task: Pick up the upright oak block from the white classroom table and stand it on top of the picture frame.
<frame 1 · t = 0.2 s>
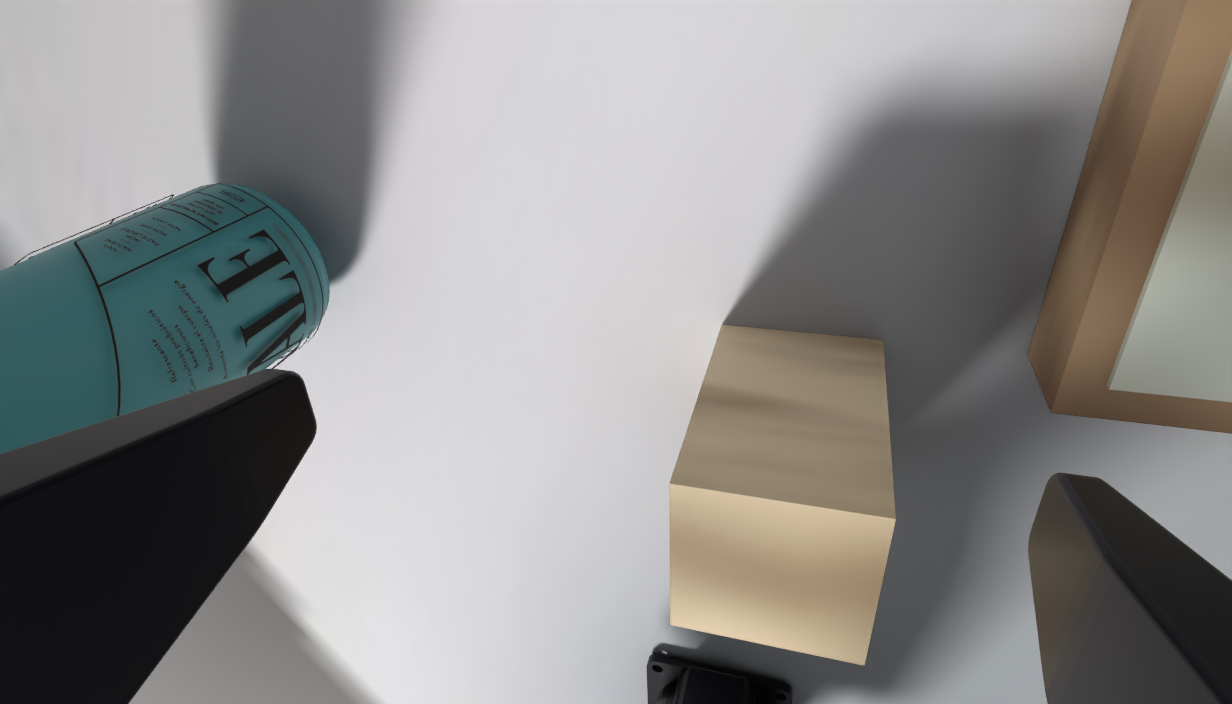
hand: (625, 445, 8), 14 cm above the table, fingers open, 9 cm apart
beverage bottle: (289, 246, 27), on the table
oak block: (793, 396, 24), on the table
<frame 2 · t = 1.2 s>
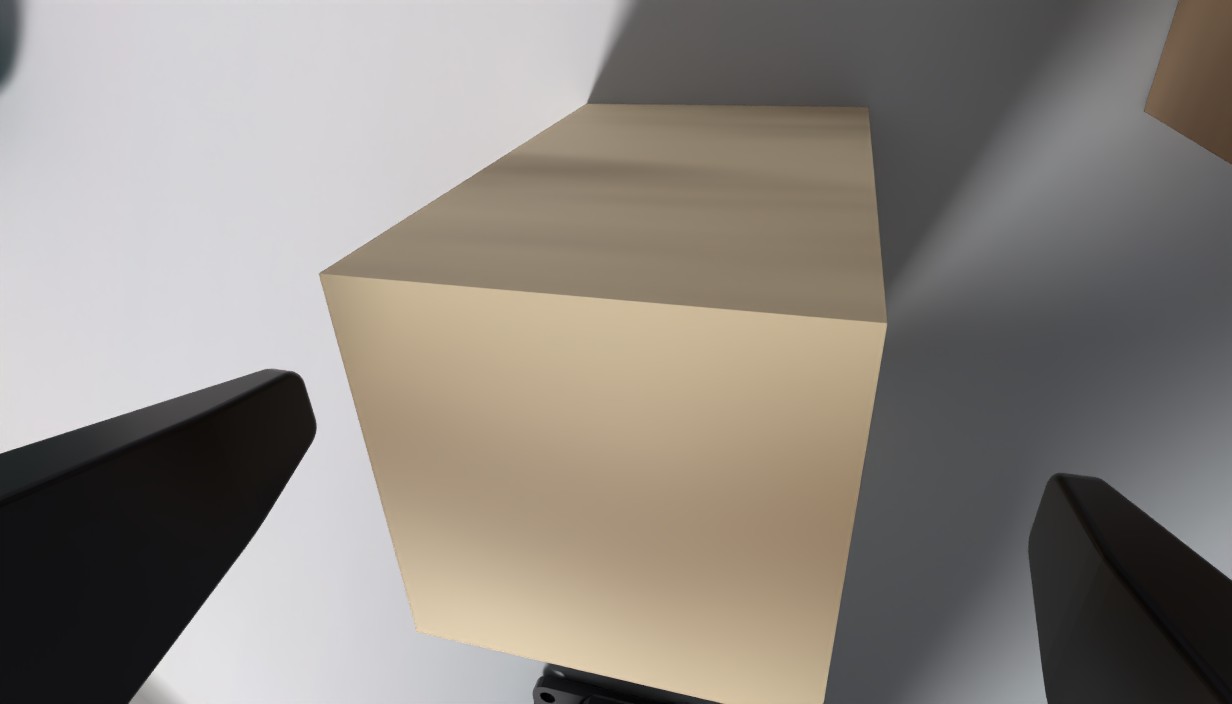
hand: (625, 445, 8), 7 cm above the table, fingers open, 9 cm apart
oak block: (716, 238, 14), on the table
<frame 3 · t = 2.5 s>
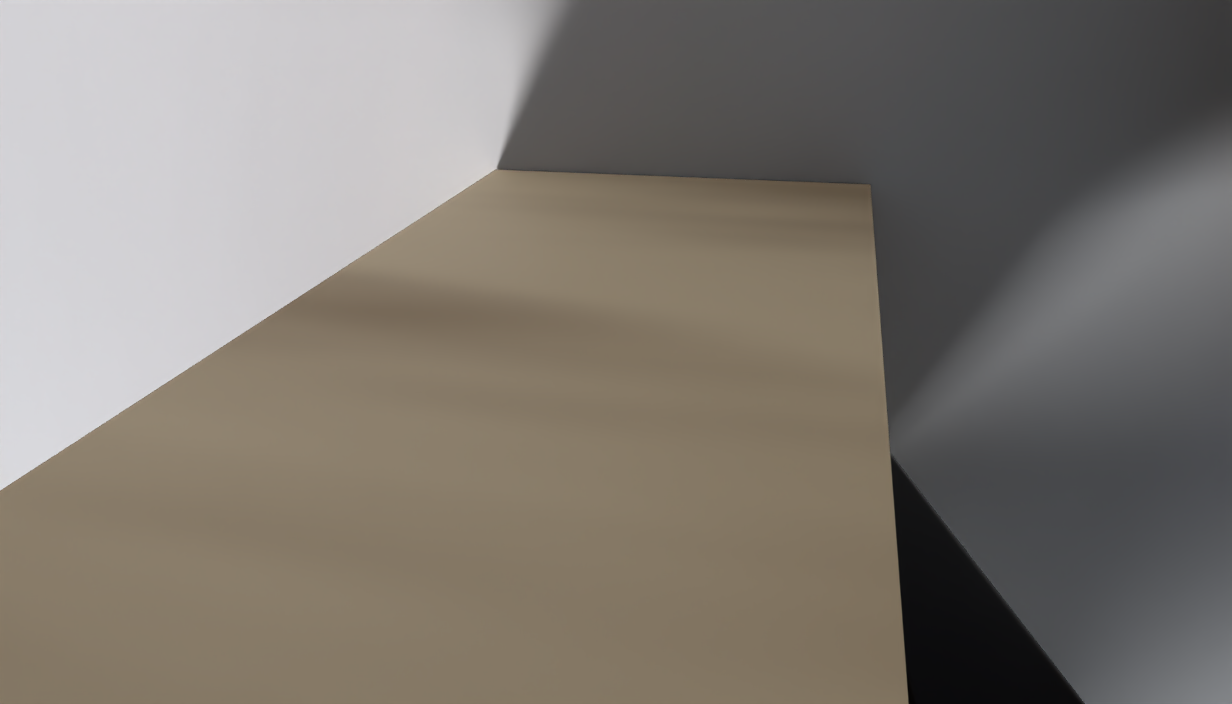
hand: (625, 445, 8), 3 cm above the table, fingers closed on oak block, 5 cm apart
oak block: (670, 342, 11), on the table, touching gripper
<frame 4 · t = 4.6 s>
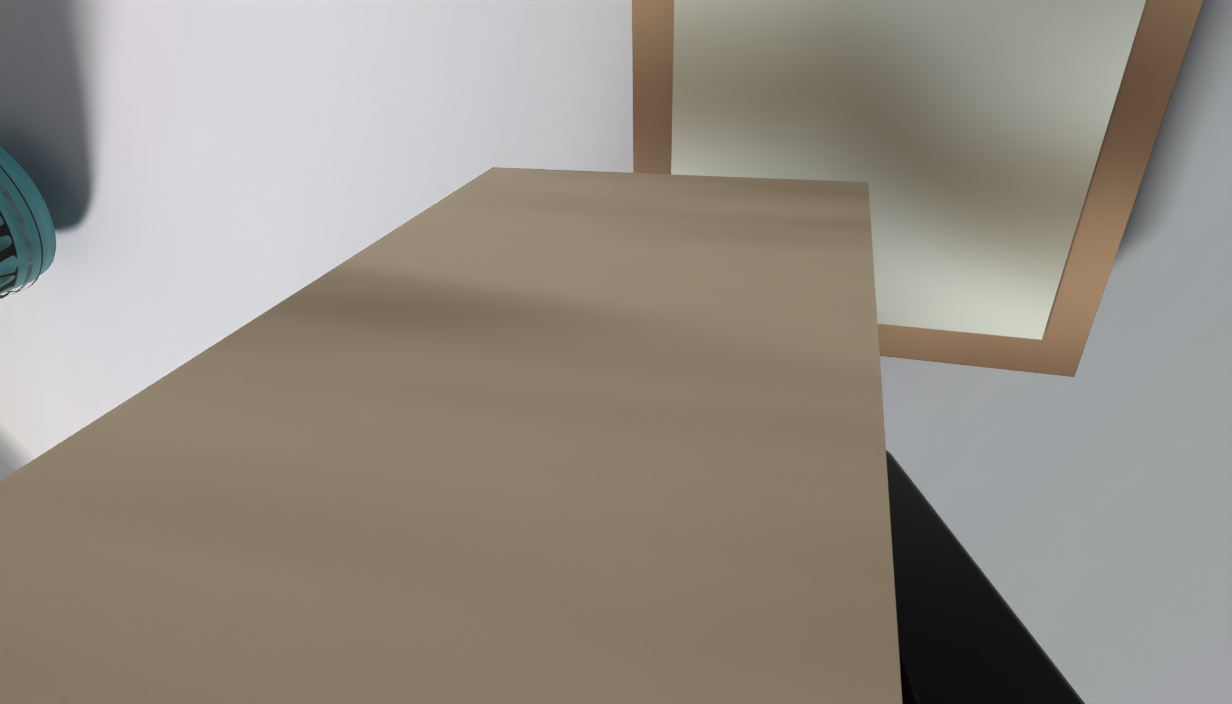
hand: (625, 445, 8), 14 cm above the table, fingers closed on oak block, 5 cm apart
beverage bottle: (33, 191, 28), on the table
picture frame: (867, 111, 18), on the table
oak block: (667, 341, 10), point 11 cm above the table, touching gripper
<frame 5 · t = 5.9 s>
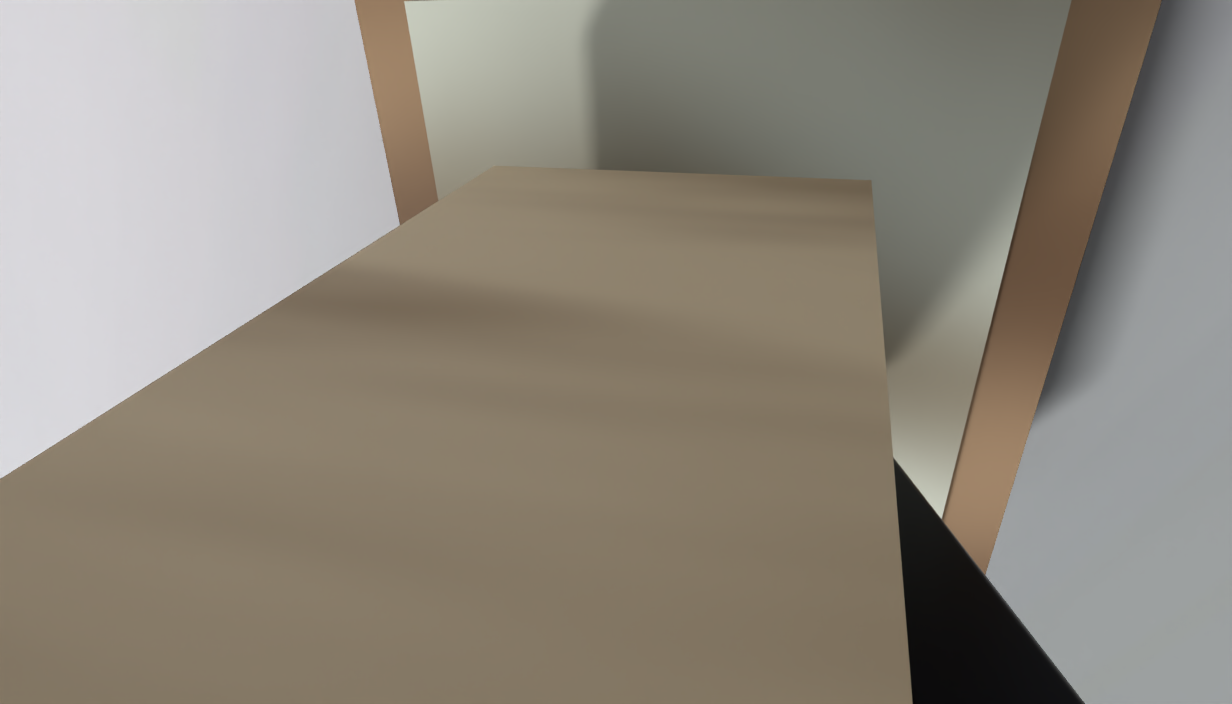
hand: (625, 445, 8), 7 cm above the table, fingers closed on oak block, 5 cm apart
picture frame: (723, 229, 14), on the table
oak block: (669, 340, 10), point 5 cm above the table, touching gripper
when the fingers open (7 cm above the table, at t = 6.8 s): oak block stays where it is, resting on picture frame.
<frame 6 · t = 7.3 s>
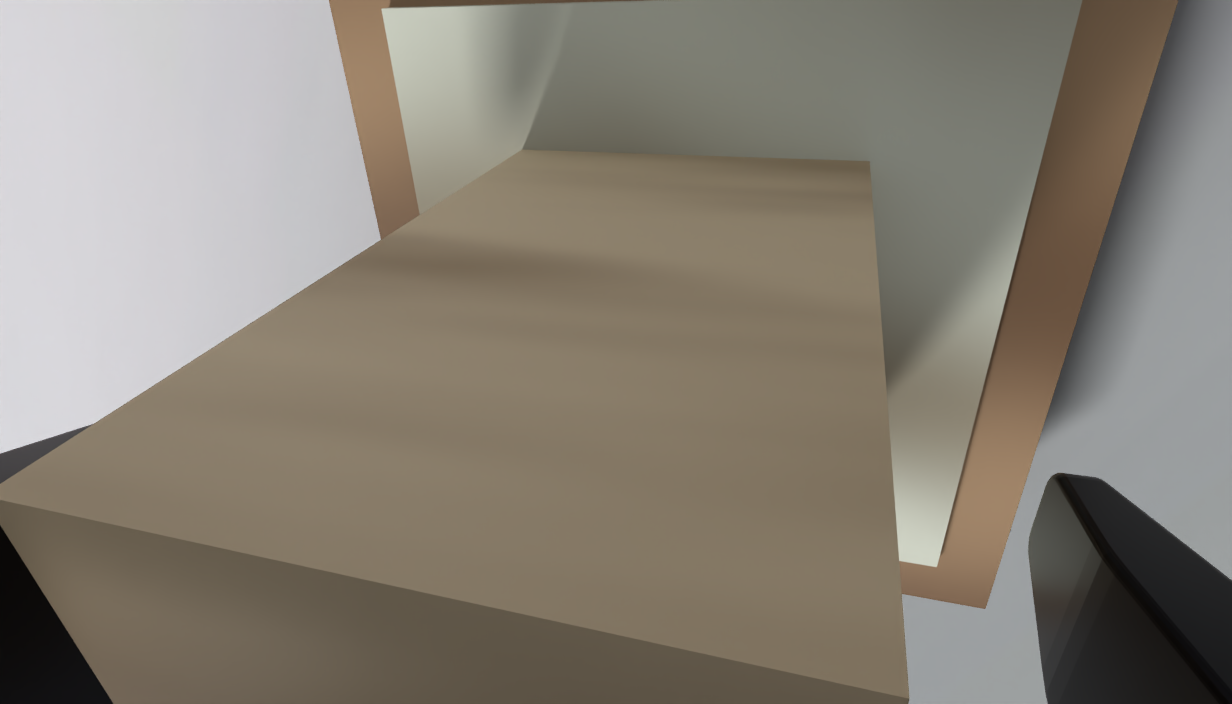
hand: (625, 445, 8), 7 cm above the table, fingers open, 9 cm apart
picture frame: (717, 242, 14), on the table
oak block: (683, 312, 11), point 3 cm above the table, touching picture frame
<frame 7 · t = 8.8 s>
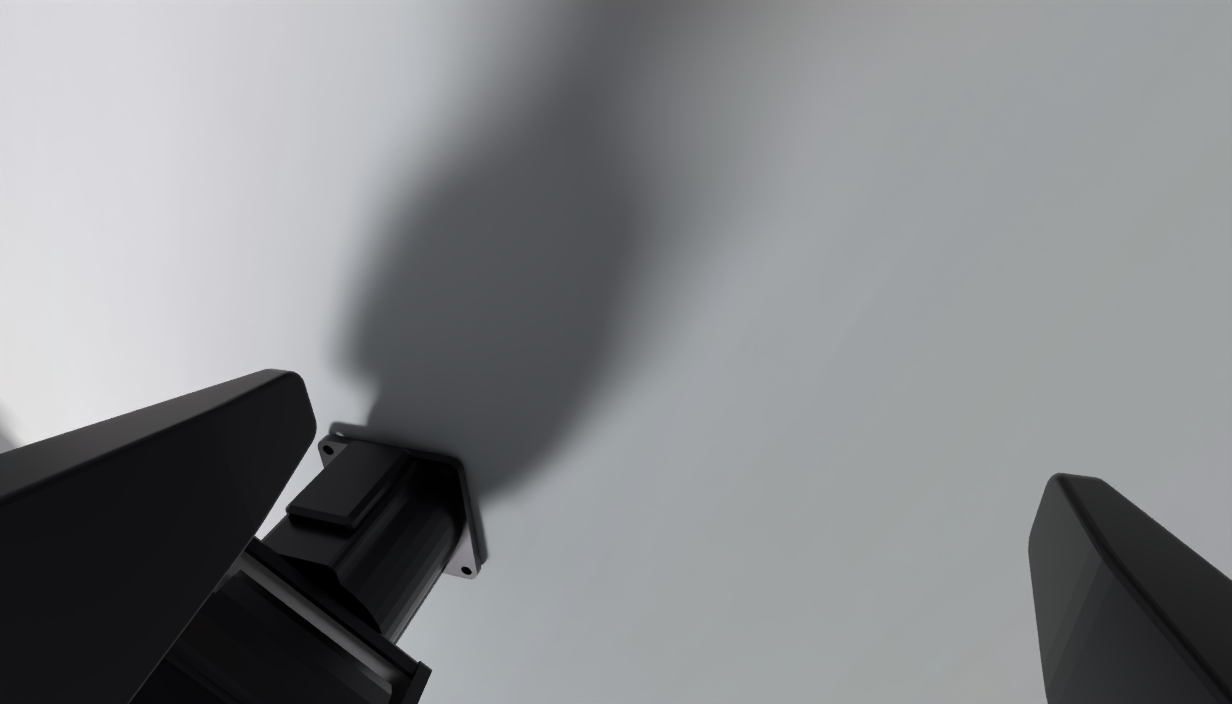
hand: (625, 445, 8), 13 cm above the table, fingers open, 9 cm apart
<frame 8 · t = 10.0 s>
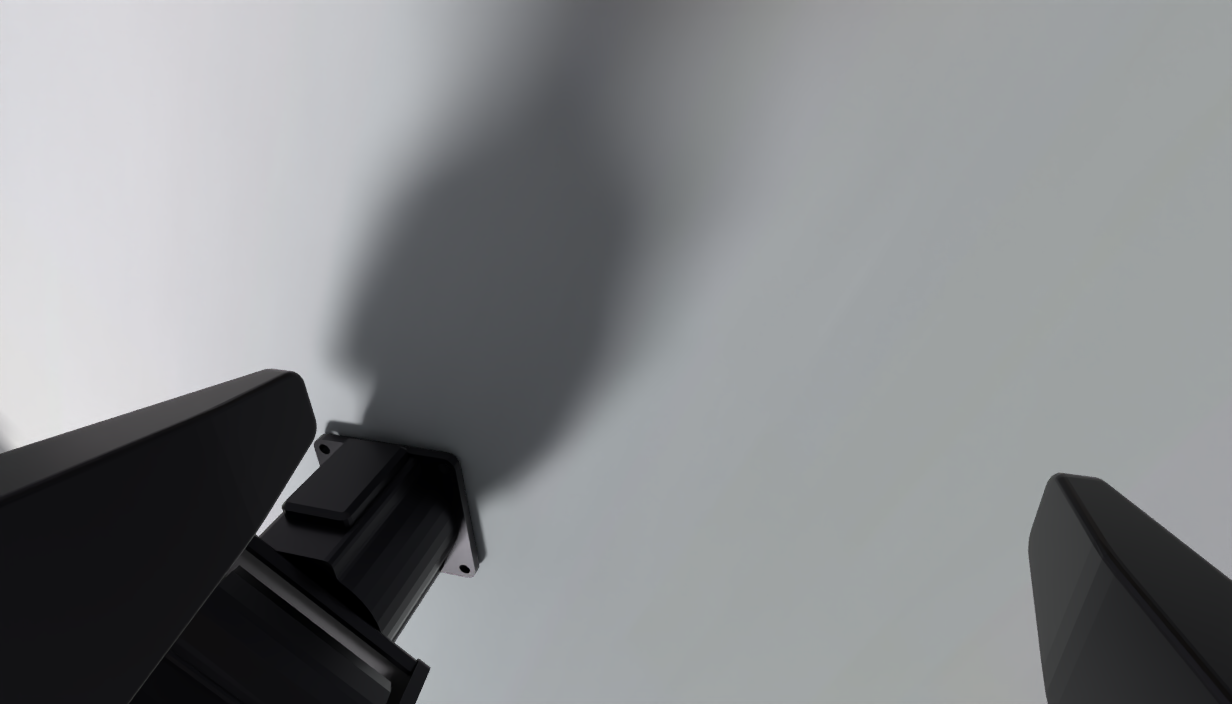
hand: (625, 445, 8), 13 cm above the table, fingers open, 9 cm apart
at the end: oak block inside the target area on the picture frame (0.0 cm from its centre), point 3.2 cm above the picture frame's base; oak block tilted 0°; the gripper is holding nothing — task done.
